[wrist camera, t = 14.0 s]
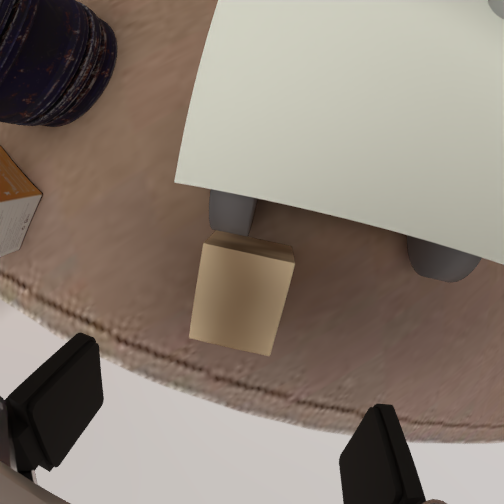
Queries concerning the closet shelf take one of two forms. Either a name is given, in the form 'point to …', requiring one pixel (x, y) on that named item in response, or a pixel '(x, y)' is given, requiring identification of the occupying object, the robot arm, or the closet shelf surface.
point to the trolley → (357, 120)
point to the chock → (241, 292)
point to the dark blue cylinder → (52, 61)
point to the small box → (14, 204)
